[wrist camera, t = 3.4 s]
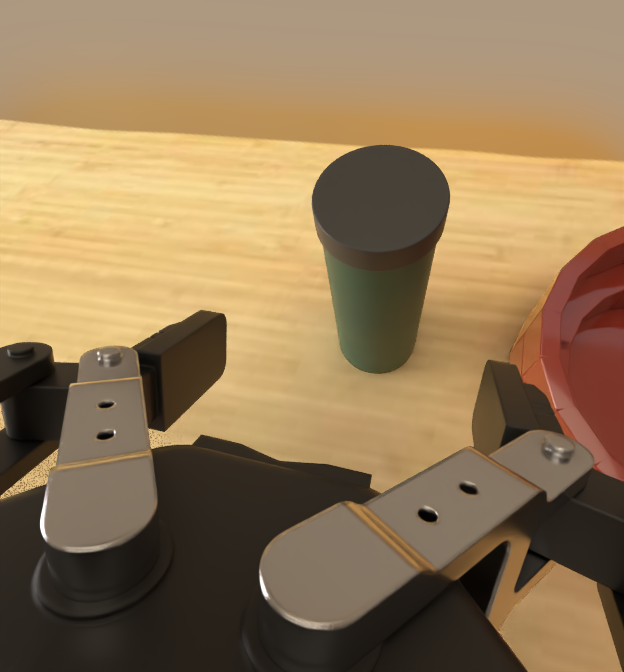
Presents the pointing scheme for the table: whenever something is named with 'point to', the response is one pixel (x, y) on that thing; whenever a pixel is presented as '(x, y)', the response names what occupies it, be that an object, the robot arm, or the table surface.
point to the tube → (379, 248)
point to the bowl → (582, 350)
